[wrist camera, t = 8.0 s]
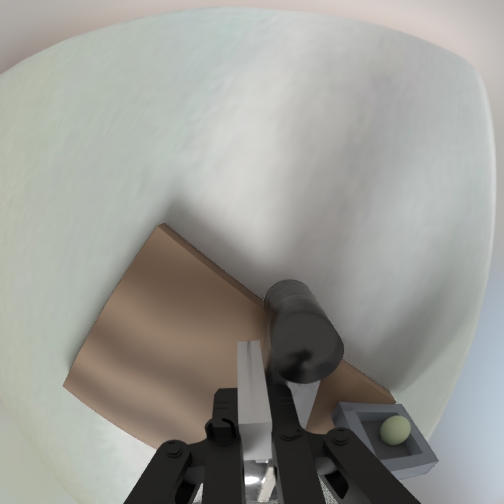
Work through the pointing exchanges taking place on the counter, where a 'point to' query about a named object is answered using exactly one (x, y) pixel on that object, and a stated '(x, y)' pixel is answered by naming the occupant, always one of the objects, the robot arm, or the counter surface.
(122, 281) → the stand board
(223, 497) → the robot arm
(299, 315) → the crank handle
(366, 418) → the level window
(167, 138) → the counter surface
